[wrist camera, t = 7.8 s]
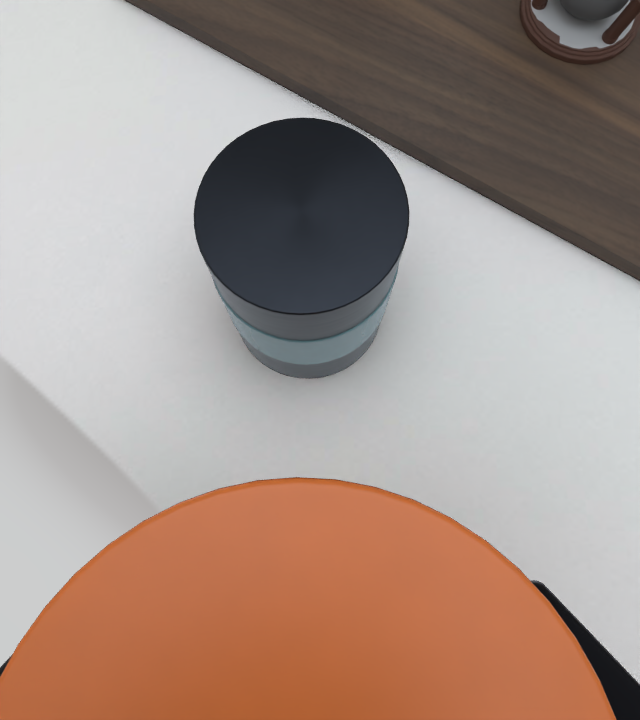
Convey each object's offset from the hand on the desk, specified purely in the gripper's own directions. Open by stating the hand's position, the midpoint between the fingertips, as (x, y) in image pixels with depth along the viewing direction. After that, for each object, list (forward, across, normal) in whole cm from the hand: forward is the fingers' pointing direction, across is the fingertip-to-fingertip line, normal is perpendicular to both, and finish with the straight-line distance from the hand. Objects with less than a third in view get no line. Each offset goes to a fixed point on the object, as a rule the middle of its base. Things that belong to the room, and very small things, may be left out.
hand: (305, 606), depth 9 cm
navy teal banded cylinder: (+16, 0, +3) cm, 16 cm away
